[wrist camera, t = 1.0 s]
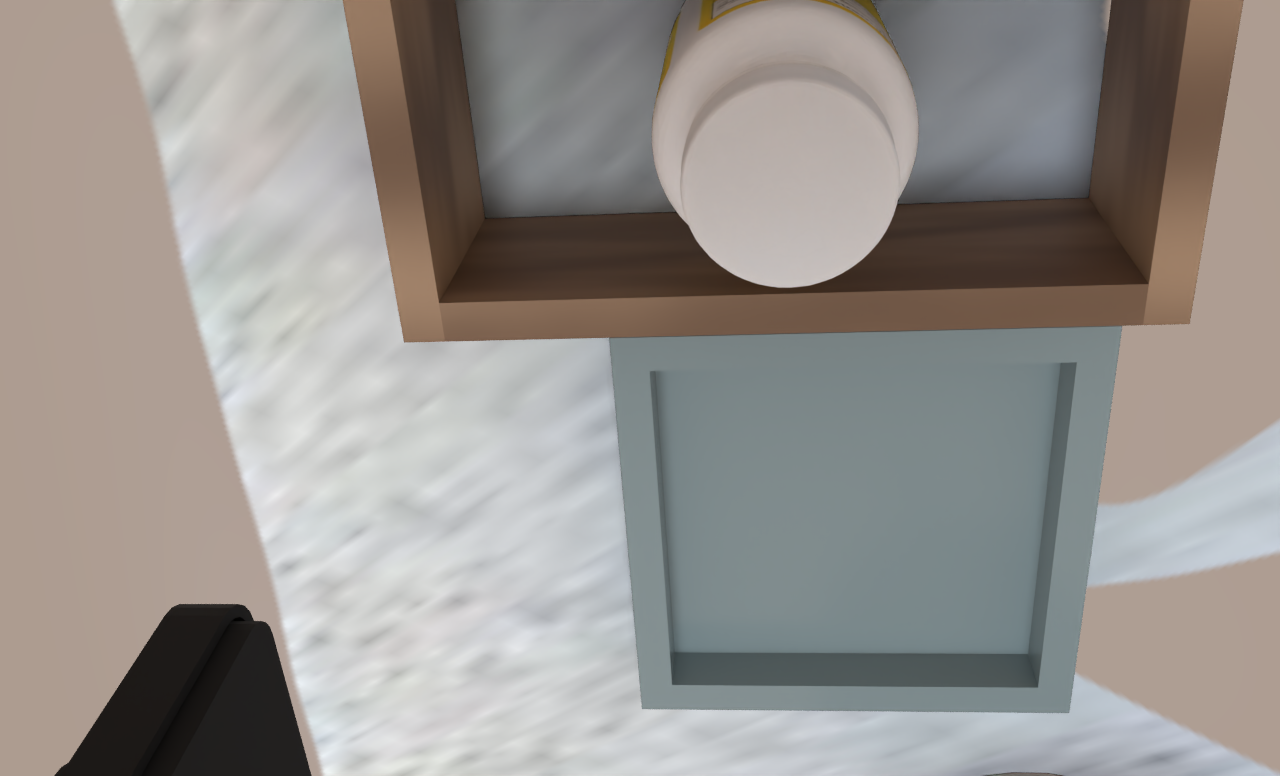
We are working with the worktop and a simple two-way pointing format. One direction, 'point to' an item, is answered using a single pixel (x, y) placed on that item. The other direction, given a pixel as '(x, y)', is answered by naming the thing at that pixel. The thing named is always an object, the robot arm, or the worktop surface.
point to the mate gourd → (1025, 774)
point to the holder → (851, 302)
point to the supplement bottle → (784, 134)
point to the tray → (862, 515)
